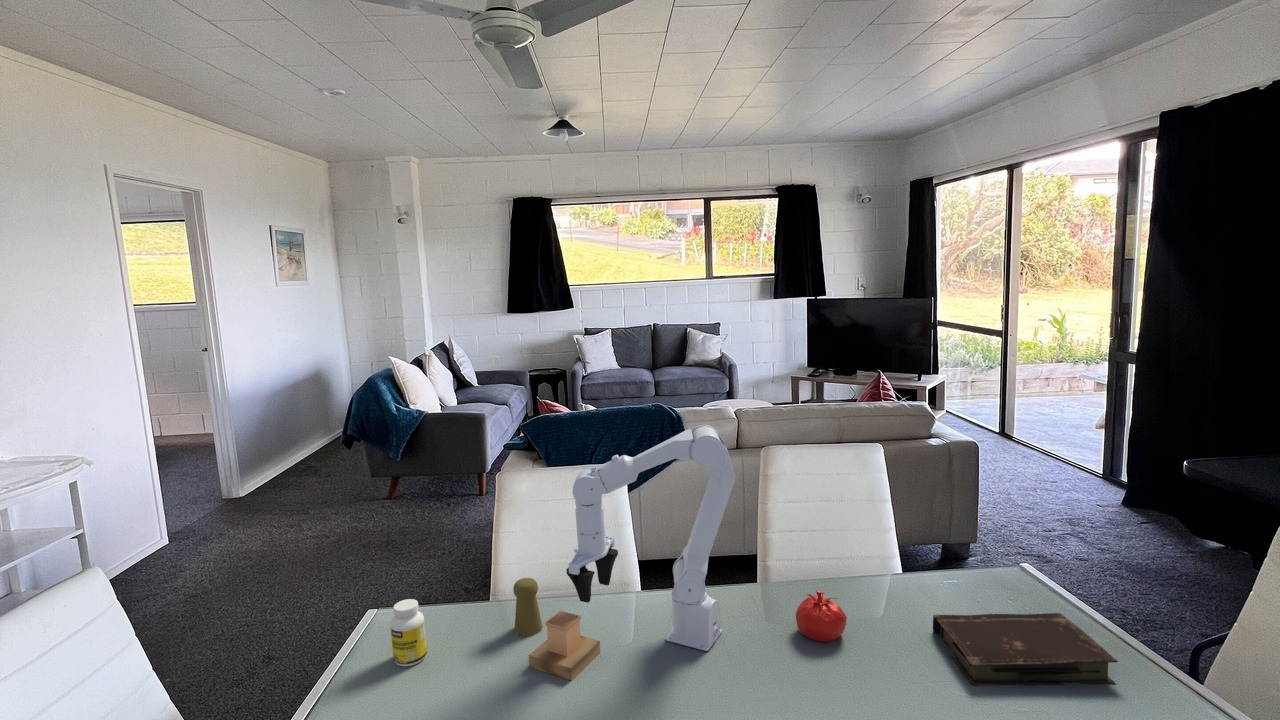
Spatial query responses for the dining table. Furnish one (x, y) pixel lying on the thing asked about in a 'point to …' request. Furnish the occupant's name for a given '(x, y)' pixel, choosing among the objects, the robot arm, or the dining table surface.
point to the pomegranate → (820, 618)
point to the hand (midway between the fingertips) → (594, 592)
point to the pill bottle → (408, 633)
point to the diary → (1023, 649)
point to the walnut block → (565, 659)
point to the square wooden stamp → (563, 633)
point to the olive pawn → (527, 608)
